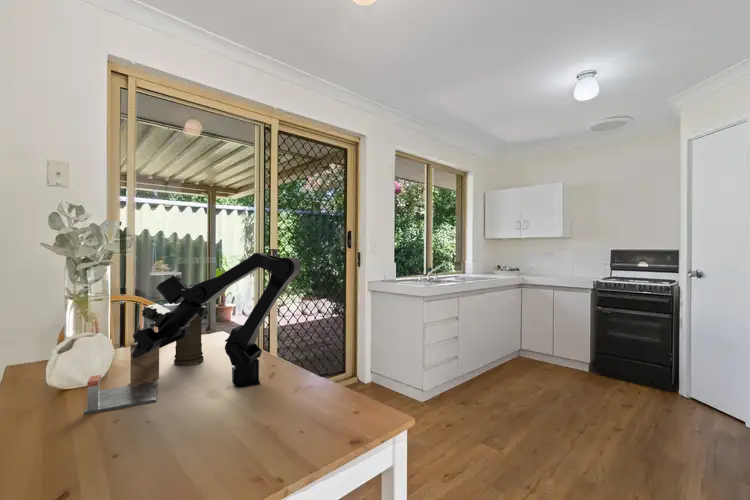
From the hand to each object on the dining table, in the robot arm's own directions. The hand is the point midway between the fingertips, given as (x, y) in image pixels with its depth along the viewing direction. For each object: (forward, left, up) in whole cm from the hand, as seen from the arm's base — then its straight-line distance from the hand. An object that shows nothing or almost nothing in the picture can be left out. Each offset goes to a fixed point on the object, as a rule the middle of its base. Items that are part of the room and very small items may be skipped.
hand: (144, 352), depth 104 cm
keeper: (+4, +12, -8) cm, 15 cm away
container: (-12, -13, -8) cm, 20 cm away
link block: (0, 0, -8) cm, 8 cm away
